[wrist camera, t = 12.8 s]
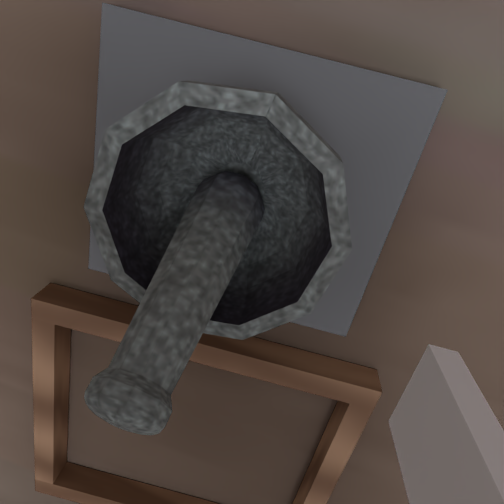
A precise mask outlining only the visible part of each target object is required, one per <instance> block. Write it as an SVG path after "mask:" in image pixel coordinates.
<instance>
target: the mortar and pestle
mask: <svg viewBox="0 0 504 504" xmlns="http://www.w3.org/2000/svg"><path fill="white" fill-rule="evenodd" d="M84 210H85V212H86V215H87V218H88V220H89V223H90V226H91V228H92V231H93V234H94V236H95V239H96V242H97V244H98V247H99V250H100V252H101V255H102V257H103V260H104V263H105V265H106V268H107V271H108V273H109V276H110V279H111V280H112V281H113V282H114V283H115V284H117V285H118V286H119V287H120V288H122V289H123V290H124V291H125V292H127V293H128V294H129V295H130V296H132V297H133V298H134V299H135V300H137V301H138V302H139V303H140V304H139V306H138V308H137V310H136V312H135V314H134V316H133V318H132V320H131V323H130V325H129V327H128V329H127V331H126V333H125V335H124V337H123V339H122V341H121V343H120V345H119V347H118V349H117V351H116V353H115V355H114V357H113V359H112V361H111V363H110V365H109V367H108V368H107V369H105V370H103V371H102V372H100V373H99V374H97V375H96V376H94V377H93V378H92V380H91V382H90V384H89V386H88V387H87V389H86V391H85V397H84V398H85V402H86V404H87V406H88V408H89V409H90V410H91V411H92V412H93V413H94V414H95V415H97V416H98V417H100V418H101V419H103V420H105V421H106V422H108V423H109V424H111V425H113V426H115V427H118V428H120V429H123V430H126V431H129V432H133V433H137V434H142V435H155V434H159V433H160V432H161V431H162V430H163V428H164V427H165V426H166V424H167V422H168V419H169V417H170V415H171V413H172V403H171V394H172V392H173V390H174V388H175V386H176V384H177V382H178V380H179V378H180V376H181V374H182V372H183V371H184V369H185V367H186V365H187V363H188V361H189V359H190V357H191V355H192V353H193V351H194V349H195V347H196V345H197V344H198V342H199V340H200V338H201V336H202V334H203V333H205V334H211V335H217V336H222V337H228V338H234V339H239V340H244V339H247V338H249V337H252V336H254V335H257V334H260V333H262V332H265V331H267V330H270V329H272V328H275V327H278V326H280V325H283V324H285V323H288V322H291V321H293V320H296V319H298V318H301V317H303V316H306V315H309V314H311V312H312V311H313V309H314V308H315V306H316V305H317V303H318V302H319V300H320V299H321V297H322V296H323V294H324V292H325V291H326V289H327V288H328V286H329V285H330V283H331V282H332V280H333V279H334V277H335V275H336V274H337V272H338V271H339V269H340V268H341V266H342V265H343V263H344V262H345V260H346V258H347V257H348V255H349V254H350V252H351V251H352V243H351V233H350V223H349V214H348V204H347V195H346V185H345V176H344V166H343V162H342V160H341V157H340V156H339V155H338V154H337V153H336V151H335V150H334V149H333V148H332V147H331V146H330V145H329V144H328V143H327V142H326V141H325V140H324V139H323V138H322V137H321V136H320V135H319V134H318V133H317V132H316V131H315V130H314V129H313V128H312V127H311V126H310V125H309V124H308V123H307V122H306V121H305V120H304V119H303V117H302V116H301V115H300V114H299V113H298V112H297V111H296V110H295V109H294V108H293V107H292V106H291V105H290V104H289V103H288V102H287V101H286V100H285V99H284V98H283V97H282V96H281V95H280V94H279V93H278V92H271V91H264V90H256V89H249V88H241V87H234V86H227V85H219V84H212V83H204V82H197V81H178V82H177V83H175V84H174V85H172V86H171V87H169V88H168V89H166V90H165V91H163V92H161V93H160V94H158V95H157V96H155V97H154V98H152V99H151V100H149V101H148V102H146V103H145V104H143V105H142V106H140V107H139V108H137V109H135V110H134V111H132V112H131V113H129V114H128V115H126V116H125V117H123V118H122V119H120V120H119V121H117V122H116V123H114V124H113V125H111V126H109V127H108V128H106V129H105V131H104V135H103V139H102V142H101V146H100V149H99V153H98V157H97V160H96V164H95V167H94V171H93V175H92V178H91V182H90V186H89V189H88V193H87V196H86V200H85V204H84Z"/></svg>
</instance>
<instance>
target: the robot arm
mask: <svg viewBox="0 0 504 504" xmlns="http://www.w3.org/2000/svg"><path fill="white" fill-rule="evenodd" d="M389 425H390V429H391V433H392V437H393V441H394V445H395V449H396V453H397V457H398V461H399V465H400V469H401V473H402V477H403V481H404V485H405V489H406V493H407V497H408V501H409V504H504V431H503V429H502V427H501V425H500V424H499V422H498V420H497V418H496V417H495V415H494V413H493V411H492V410H491V408H490V406H489V405H488V403H487V401H486V399H485V398H484V396H483V394H482V392H481V391H480V389H479V387H478V385H477V384H476V382H475V380H474V378H473V377H472V375H471V373H470V371H469V370H468V368H467V366H466V365H465V363H464V361H463V359H462V358H461V356H460V354H459V352H457V351H453V350H449V349H445V348H441V347H438V346H434V345H430V344H428V346H427V348H426V350H425V352H424V354H423V356H422V358H421V360H420V362H419V364H418V365H417V367H416V369H415V371H414V373H413V375H412V377H411V379H410V381H409V383H408V385H407V387H406V388H405V390H404V392H403V394H402V396H401V398H400V400H399V402H398V404H397V406H396V408H395V410H394V411H393V413H392V415H391V417H390V419H389Z"/></svg>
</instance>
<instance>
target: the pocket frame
mask: <svg viewBox="0 0 504 504" xmlns="http://www.w3.org/2000/svg"><path fill="white" fill-rule="evenodd" d="M137 308H138V306H136V305H132V304H128V303H124V302H121V301H117V300H113V299H109V298H106V297H102V296H98V295H94V294H91V293H87V292H83V291H79V290H76V289H72V288H68V287H64V286H61V285H57V284H53V283H50V284H48V285H47V286H46V287H45V288H43V289H42V290H41V291H40V292H39V293H37V294H36V295H35V296H34V297H32V298H31V314H32V361H33V408H34V454H35V491H38V492H41V493H45V494H49V495H52V496H56V497H59V498H63V499H67V500H70V501H74V502H77V503H81V504H218V503H215V502H211V501H207V500H204V499H200V498H196V497H193V496H189V495H185V494H182V493H178V492H175V491H171V490H167V489H164V488H160V487H156V486H153V485H149V484H145V483H142V482H138V481H134V480H131V479H127V478H124V477H120V476H116V475H113V474H109V473H105V472H102V471H98V470H94V469H91V468H87V467H84V466H80V465H76V464H73V463H69V462H67V439H68V409H69V378H70V347H71V329H73V330H77V331H81V332H84V333H88V334H92V335H96V336H99V337H103V338H107V339H111V340H114V341H118V342H121V341H122V339H123V337H124V335H125V333H126V331H127V329H128V327H129V325H130V323H131V320H132V318H133V316H134V314H135V312H136V310H137ZM189 361H193V362H196V363H200V364H204V365H207V366H211V367H215V368H219V369H222V370H226V371H230V372H233V373H237V374H241V375H245V376H248V377H252V378H256V379H260V380H263V381H267V382H271V383H274V384H278V385H282V386H286V387H289V388H293V389H297V390H301V391H304V392H308V393H312V394H315V395H319V396H323V397H327V398H330V399H334V400H338V402H337V404H336V406H335V409H334V411H333V413H332V415H331V418H330V420H329V422H328V424H327V427H326V429H325V431H324V433H323V436H322V438H321V440H320V442H319V445H318V447H317V449H316V452H315V454H314V456H313V458H312V461H311V463H310V465H309V467H308V470H307V472H306V474H305V476H304V479H303V481H302V483H301V485H300V488H299V490H298V492H297V495H296V497H295V499H294V501H293V504H326V503H327V501H328V499H329V497H330V495H331V493H332V491H333V489H334V488H335V486H336V484H337V482H338V480H339V478H340V476H341V474H342V472H343V470H344V468H345V466H346V464H347V462H348V460H349V458H350V456H351V454H352V452H353V450H354V448H355V446H356V444H357V442H358V440H359V438H360V436H361V434H362V432H363V430H364V428H365V426H366V424H367V422H368V420H369V418H370V416H371V414H372V412H373V410H374V408H375V406H376V404H377V402H378V400H379V398H380V396H381V394H382V389H381V385H380V381H379V377H378V373H377V370H376V369H372V368H368V367H365V366H361V365H357V364H353V363H350V362H346V361H342V360H338V359H335V358H331V357H327V356H323V355H320V354H316V353H312V352H308V351H305V350H301V349H297V348H293V347H290V346H286V345H282V344H278V343H275V342H271V341H267V340H263V339H260V338H256V337H249V338H247V339H244V340H239V339H234V338H228V337H222V336H217V335H211V334H205V333H203V334H202V336H201V338H200V340H199V342H198V344H197V345H196V347H195V349H194V351H193V353H192V355H191V357H190V359H189Z"/></svg>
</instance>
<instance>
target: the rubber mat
mask: <svg viewBox="0 0 504 504" xmlns="http://www.w3.org/2000/svg"><path fill="white" fill-rule="evenodd" d="M178 81H197V82H204V83H212V84H219V85H227V86H234V87H241V88H249V89H256V90H264V91H271V92H278V93H279V94H280V95H281V96H282V97H283V98H284V99H285V100H286V101H287V102H288V103H289V104H290V105H291V106H292V107H293V108H294V109H295V110H296V111H297V112H298V113H299V114H300V115H301V116H302V117H303V119H304V120H305V121H306V122H307V123H308V124H309V125H310V126H311V127H312V128H313V129H314V130H315V131H316V132H317V133H318V134H319V135H320V136H321V137H322V138H323V139H324V140H325V141H326V142H327V143H328V144H329V145H330V146H331V147H332V148H333V149H334V150H335V151H336V153H337V154H338V155H339V156H340V157H341V160H342V162H343V166H344V176H345V185H346V195H347V204H348V214H349V223H350V233H351V243H352V251H351V252H350V254H349V255H348V257H347V258H346V260H345V262H344V263H343V265H342V266H341V268H340V269H339V271H338V272H337V274H336V275H335V277H334V279H333V280H332V282H331V283H330V285H329V286H328V288H327V289H326V291H325V292H324V294H323V296H322V297H321V299H320V300H319V302H318V303H317V305H316V306H315V308H314V309H313V311H312V312H311V314H309V315H306V316H303V317H301V318H298V319H296V320H293V321H291V322H292V323H296V324H299V325H303V326H307V327H311V328H315V329H318V330H322V331H326V332H330V333H333V334H337V335H341V336H345V337H346V335H347V332H348V330H349V328H350V325H351V323H352V320H353V318H354V315H355V313H356V311H357V308H358V306H359V303H360V301H361V298H362V296H363V294H364V291H365V289H366V286H367V284H368V282H369V279H370V277H371V274H372V272H373V269H374V267H375V265H376V262H377V260H378V257H379V255H380V253H381V250H382V248H383V245H384V243H385V240H386V238H387V236H388V233H389V231H390V228H391V226H392V223H393V221H394V219H395V216H396V214H397V211H398V209H399V207H400V204H401V202H402V199H403V197H404V194H405V192H406V190H407V187H408V185H409V182H410V180H411V177H412V175H413V173H414V170H415V168H416V165H417V163H418V161H419V158H420V156H421V153H422V151H423V148H424V146H425V144H426V141H427V139H428V136H429V134H430V131H431V129H432V127H433V124H434V122H435V119H436V117H437V115H438V112H439V110H440V107H441V105H442V102H443V100H444V98H445V95H446V93H447V90H446V89H442V88H438V87H435V86H431V85H427V84H423V83H419V82H415V81H411V80H407V79H403V78H399V77H395V76H391V75H387V74H383V73H379V72H375V71H371V70H367V69H363V68H359V67H355V66H351V65H347V64H344V63H340V62H336V61H332V60H328V59H324V58H320V57H316V56H312V55H308V54H304V53H300V52H296V51H292V50H288V49H284V48H280V47H276V46H272V45H268V44H264V43H260V42H256V41H252V40H249V39H245V38H241V37H237V36H233V35H229V34H225V33H221V32H217V31H213V30H209V29H205V28H201V27H197V26H193V25H189V24H185V23H181V22H177V21H173V20H169V19H165V18H161V17H158V16H154V15H150V14H146V13H142V12H138V11H134V10H130V9H126V8H122V7H118V6H114V5H110V4H106V3H102V17H101V36H100V56H99V75H98V94H97V113H96V133H95V152H94V167H95V164H96V160H97V157H98V153H99V149H100V146H101V142H102V139H103V135H104V131H105V129H106V128H108V127H109V126H111V125H113V124H114V123H116V122H117V121H119V120H120V119H122V118H123V117H125V116H126V115H128V114H129V113H131V112H132V111H134V110H135V109H137V108H139V107H140V106H142V105H143V104H145V103H146V102H148V101H149V100H151V99H152V98H154V97H155V96H157V95H158V94H160V93H161V92H163V91H165V90H166V89H168V88H169V87H171V86H172V85H174V84H175V83H177V82H178ZM88 269H92V270H96V271H100V272H103V273H107V274H109V273H108V271H107V268H106V265H105V263H104V260H103V257H102V255H101V252H100V250H99V247H98V244H97V242H96V239H95V236H94V234H93V231H92V228H91V229H90V248H89V267H88Z"/></svg>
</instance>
